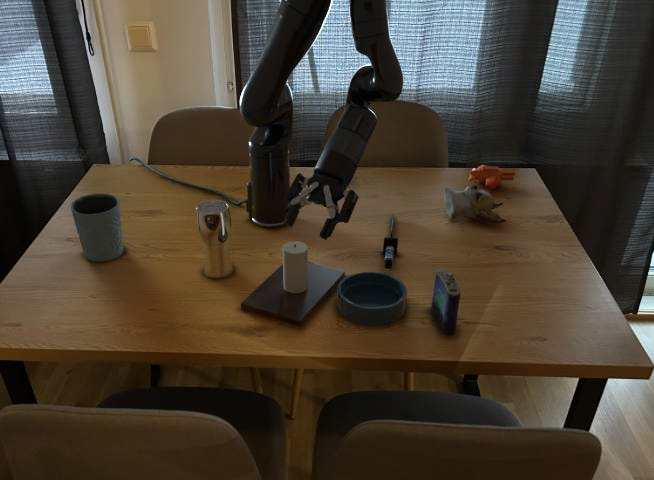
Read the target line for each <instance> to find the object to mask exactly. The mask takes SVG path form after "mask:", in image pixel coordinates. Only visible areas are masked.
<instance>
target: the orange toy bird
mask: <svg viewBox="0 0 654 480" xmlns="http://www.w3.org/2000/svg"><path fill="white" fill-rule="evenodd" d="M469 175H470V176H469V177H468V179H467V181H468V182H471V181H476V182H477V183H478V184H485V186H486V188H488V189H490V190H494V189H495V188H498V187H500V186H501V185H502V181H514V178H515V177H514V176H515V175H516V170H515V169H502V168H499V166H496V165H494V166H493V165H492V166H491V165H490V166H489V165H486V164H481V165H480V166H478V167H477V168H475V167H473V168H472V170H470V171H469Z"/></svg>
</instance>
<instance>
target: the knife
mask: <svg viewBox="0 0 654 480" xmlns="http://www.w3.org/2000/svg"><path fill="white" fill-rule="evenodd" d="M394 220H395V214H394V213H393V214H392V219H391V229H390V236H388V237H387V236H386V237H383V245H382V246H383V247H382V255H384V259H383V260H384V261H383V269H384V270H392V269H393V263H394V257H395V256H397V255H398V246H399V238H397V237H393V235H394V233H393V232H394Z"/></svg>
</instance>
